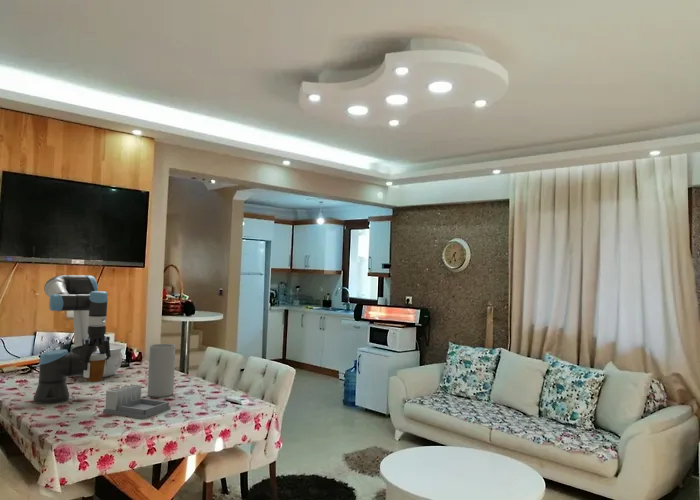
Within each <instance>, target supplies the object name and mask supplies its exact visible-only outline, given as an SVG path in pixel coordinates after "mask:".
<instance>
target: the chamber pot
mask: <svg viewBox="0 0 700 500" xmlns="http://www.w3.org/2000/svg"><path fill="white" fill-rule="evenodd" d="M109 344H110V354H111V357H109V359H108V360H107V364H106V368H105V374H103V377H102V378H108V377H110V376H113V375H115V373H116V374H117V372H118V370H119V369H120V368H121V365H122V361H123V353H122V350H124V349H125V348H126V346H125V345H123V344H119V343H111V342H109ZM96 347H97V346H96ZM98 350H99V349H98V347H97V351H98ZM107 355H108V354H107Z"/></svg>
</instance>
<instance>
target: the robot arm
mask: <svg viewBox="0 0 700 500" xmlns="http://www.w3.org/2000/svg"><path fill="white" fill-rule="evenodd" d="M44 293H45V295H46V296H47V297H49V299H48V300H49V301H48V302H49V303H48V308H49V310H50V311H51V312H53V311H54V312H55V311H56V312H70V311H73V337H74V338H73V340H74V346H73V347H72V348H71V350H70V351H71V352H70V351H68V349H56V350H54V349H53V350H49V351H46V352H43V353H42V354H41V355H40V356H39V358H40V359H39V362H38V364H39V367H38V368H39V370H38V384H37V386H36V387H37V388H36V390H35V393H34V395H33V399H32V401H33V402H34V403H36V404H55V403H62V402H65V401H68V400H69V399H70V392H69V389H68V385H67V378H68V377H69V378H70V377H80V376H83V378H89V376H90V363H88V362H89V360H90V356H91V355H92V353H101V354H104V353H105V354H106V356H107V358H106V360H105V366H104V371H103V374H105V368H106V364H107V360H108V359H109V357H111V354H110V344H109V343H110V341H111V337H110V336H105V335H106V334H107V326H106V325H107V317H108V316H107V315H108V301H109V299H108V298H109V297H108V292H107V291H104V290H103V291H101V290H99V291H98V282H97V279H96V278H95V276H93V275H87V274H84V275H83V274H82V275H81V274H80V275H78V274H77V275H75V274H60V275H56V276H53V277H51V278H50V279H48V280H47V281H46V282H45V284H44ZM96 346H97V347H98V349H99V350H98V351H97V347H96ZM107 354H108V355H107ZM86 359H87V360H86Z"/></svg>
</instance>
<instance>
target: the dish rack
mask: <svg viewBox="0 0 700 500" xmlns="http://www.w3.org/2000/svg"><path fill="white" fill-rule="evenodd" d="M142 387H143V386H142V385H141V384H133V383H130V384H129V385H127V384H126V385H125V386H121V387H116V389H115V388H111V390H109V389H108V390H105V406H104V408H103V410H102V413H104V414H111V415H116V416H121V415H122V417H129V418H135V419H140V418H141V420H143V419H146V417H147V418H149V416H150V417H152V416H155V415H157V414H161V413H163V412H166V411H169V410H171V405H169V404H170V402H169V401H162V400H156V399H147V398H142Z"/></svg>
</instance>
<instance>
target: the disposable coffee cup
mask: <svg viewBox="0 0 700 500" xmlns="http://www.w3.org/2000/svg"><path fill="white" fill-rule="evenodd" d="M106 358H107V356H106V354H105V353H104V354H101V353H92V355H91V356H90V360H89V362H88V363H90V376H89V378H86V377H85V378H86V379H85V380H86V382H87V383H97V382H101V381H103V378H104V377H103V371H104V366H105V360H106ZM86 360H87V359H86Z"/></svg>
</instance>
